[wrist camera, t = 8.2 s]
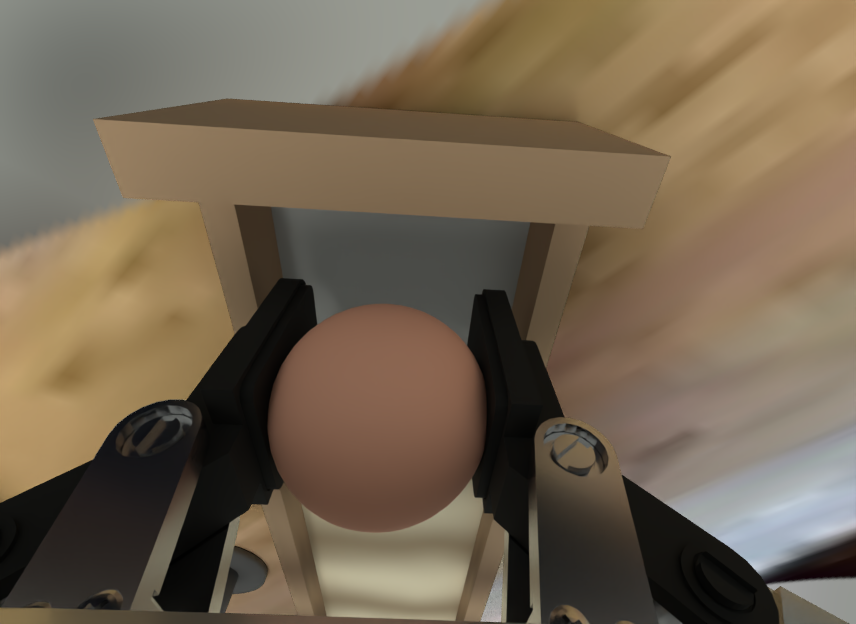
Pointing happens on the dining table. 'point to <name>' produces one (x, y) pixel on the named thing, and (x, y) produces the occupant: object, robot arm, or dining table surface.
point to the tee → (243, 575)
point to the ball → (378, 418)
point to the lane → (388, 562)
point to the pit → (388, 202)
